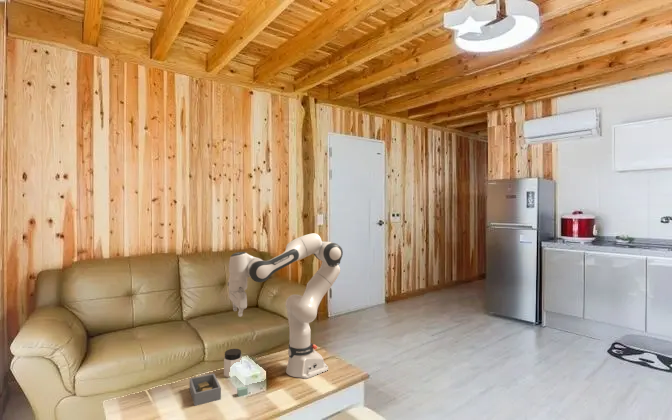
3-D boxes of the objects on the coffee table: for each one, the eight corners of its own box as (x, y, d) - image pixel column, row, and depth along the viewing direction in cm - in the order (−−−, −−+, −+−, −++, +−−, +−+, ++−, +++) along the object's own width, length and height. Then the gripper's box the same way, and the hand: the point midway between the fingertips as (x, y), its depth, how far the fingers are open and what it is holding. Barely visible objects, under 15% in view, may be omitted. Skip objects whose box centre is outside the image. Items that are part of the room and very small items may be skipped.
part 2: (212, 393, 162) (212, 387, 162) (211, 398, 158) (211, 391, 158) (202, 394, 161) (202, 388, 161) (201, 399, 157) (201, 393, 157)
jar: (226, 380, 175) (226, 356, 175) (221, 373, 182) (221, 350, 182) (243, 376, 180) (244, 352, 180) (238, 369, 187) (239, 347, 187)
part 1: (206, 387, 167) (206, 381, 167) (209, 391, 164) (209, 384, 164) (197, 390, 164) (197, 383, 164) (200, 394, 161) (200, 387, 161)
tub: (213, 385, 170) (214, 373, 170) (220, 401, 157) (220, 387, 157) (189, 391, 165) (189, 378, 165) (194, 407, 152) (194, 394, 152)
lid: (246, 380, 177) (246, 371, 177) (256, 395, 163) (256, 386, 163) (221, 386, 171) (221, 377, 171) (229, 402, 157) (229, 392, 157)
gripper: (250, 289, 166) (250, 318, 166) (239, 280, 184) (238, 307, 184) (237, 290, 163) (236, 320, 163) (226, 281, 180) (226, 308, 181)
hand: (237, 313), depth 174 cm, fingers open, 8 cm apart
